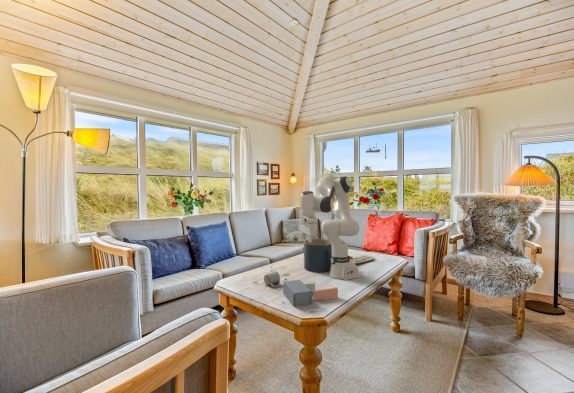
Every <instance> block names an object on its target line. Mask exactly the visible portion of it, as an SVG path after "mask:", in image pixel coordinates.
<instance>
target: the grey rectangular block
mask: <svg viewBox="0 0 574 393" xmlns="http://www.w3.org/2000/svg"><path fill="white" fill-rule="evenodd" d="M304 283H305V282H304V281H301V279H294V280H293V279H292V280H284V281H283V295H284V296H285V298H287V300H288V301H289V303H290V304H291V305H292V306H293V307H300V306H307V305H312V294H313V295H314V292H312V291H311V290H310V289H309V288H308V287H307V286H306V285H305V284H304Z"/></svg>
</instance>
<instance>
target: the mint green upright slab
mask: <svg viewBox="0 0 574 393" xmlns="http://www.w3.org/2000/svg"><path fill="white" fill-rule="evenodd" d="M303 283H304V284H305V285H306V286H307V287H308V288H309V289H310V290H311V291H312V292H313V293H314V290H316V283H315V282H306V283H305V282H303Z"/></svg>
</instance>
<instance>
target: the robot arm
mask: <svg viewBox="0 0 574 393" xmlns="http://www.w3.org/2000/svg"><path fill="white" fill-rule="evenodd" d="M351 186H352V182H351V180H350V178H349V177H348V176H340V177H338V178H336V177H335V176H334V175H332V174H325V175H324V176H322V178H320V179H319V181H318V182H317V184H316V191H317V193H319V195H321V196H319V195H317V196H315V194H314V191H312V190H306V191H302V192H301V193H300V199H299V206H300V211H299V222H298V231H299V232H301V236H302V239H303V240H308V242H309V243H311V242H312V239H314V237H315V236H317V233H318V231H317V230H318V224H317V223H318V218H317V217H316V215H315V213H327V214H329V213H331V211H332V210H333V211H332V212H333V216H335V218H334V219H325V220H323V221H322V223H321V225H320V228H321V232H322V233H323V234H324V235H325V236H326V237H327V238H328V240H330V242H331V248H332V255H331V269H330V271H329V273H328V274H329V275H328V276H329V277H331V278H332V279H338V280H343V281H349V280H354V279H357V278H362V277H363V274H362V272H360V271H359V268H358V266H357V265H355V264H354V263H352V262H351V261H350V260H353V259H354V257H353V256H350V255H349V244H348V243H347V242H346V241H344V240H343V239H342V238H340V236H342V237H353V236H357V235H358V234H359V232H360V224H359V223H358V222H357V221H356V220H355V219H353V217H351V214H350V197H349V195H348V193H350V190H351V188H352V187H351ZM306 235H308V239H307V236H306Z"/></svg>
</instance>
